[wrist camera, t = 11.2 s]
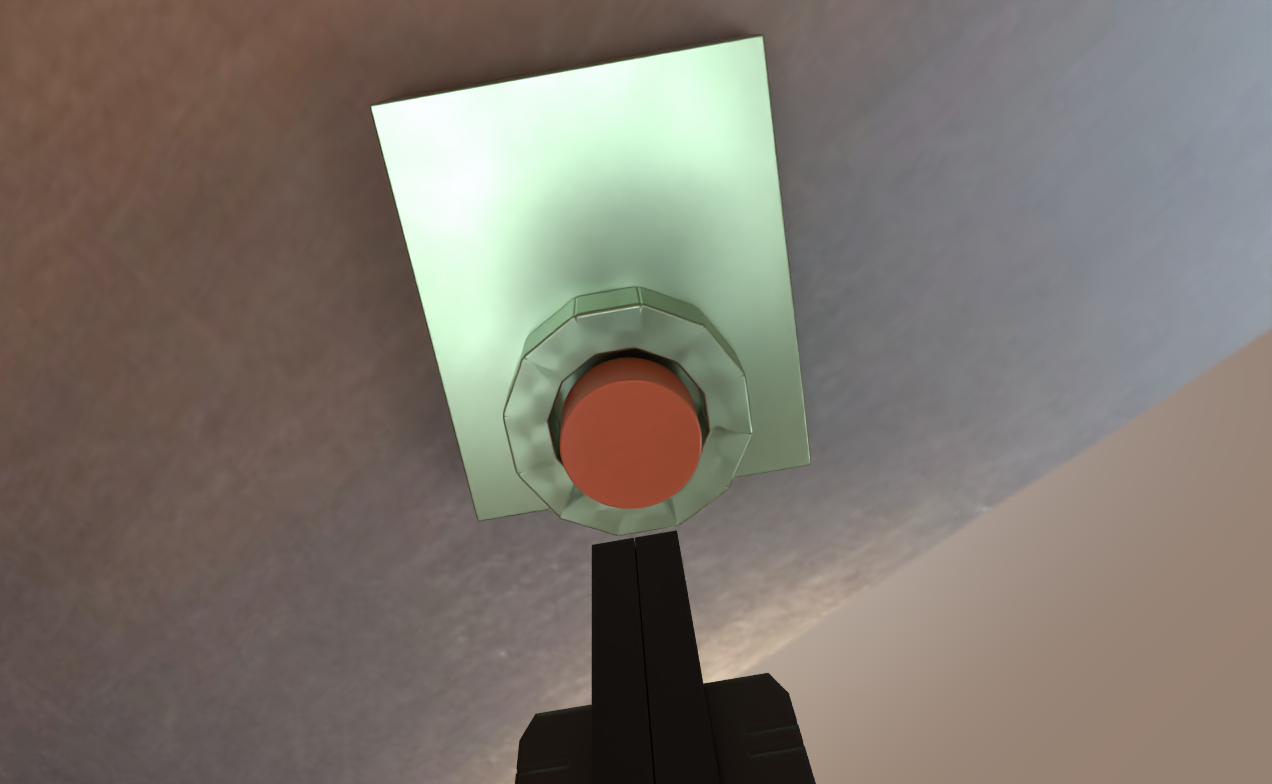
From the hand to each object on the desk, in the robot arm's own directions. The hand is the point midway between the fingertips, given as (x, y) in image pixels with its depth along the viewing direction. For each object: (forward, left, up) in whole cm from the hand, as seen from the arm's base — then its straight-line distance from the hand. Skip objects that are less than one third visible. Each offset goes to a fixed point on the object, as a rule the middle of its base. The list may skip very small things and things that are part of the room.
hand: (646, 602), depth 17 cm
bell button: (0, 0, -9) cm, 9 cm away
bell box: (+3, 0, -12) cm, 13 cm away
